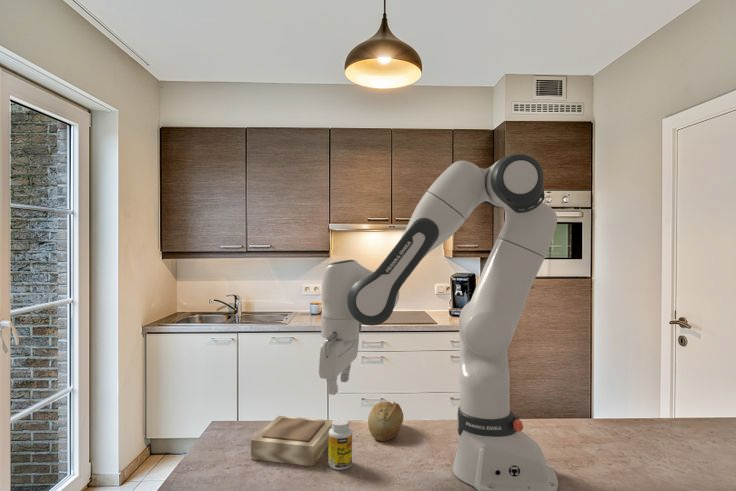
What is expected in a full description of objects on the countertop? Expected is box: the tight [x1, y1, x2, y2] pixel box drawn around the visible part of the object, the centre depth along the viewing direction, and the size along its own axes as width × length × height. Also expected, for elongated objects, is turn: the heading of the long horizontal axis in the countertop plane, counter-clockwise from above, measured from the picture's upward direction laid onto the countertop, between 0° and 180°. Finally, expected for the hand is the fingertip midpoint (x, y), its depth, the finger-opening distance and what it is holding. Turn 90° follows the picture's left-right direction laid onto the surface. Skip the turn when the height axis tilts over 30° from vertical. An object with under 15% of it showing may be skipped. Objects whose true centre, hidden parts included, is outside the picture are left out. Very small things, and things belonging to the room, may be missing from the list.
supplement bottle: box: [327, 418, 353, 471], centre depth 106 cm, size 6×6×10 cm
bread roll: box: [367, 401, 404, 442], centre depth 125 cm, size 10×15×8 cm, turn 172°
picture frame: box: [250, 415, 334, 467], centre depth 115 cm, size 16×16×5 cm
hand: (339, 387), depth 106 cm, fingers open, 8 cm apart
